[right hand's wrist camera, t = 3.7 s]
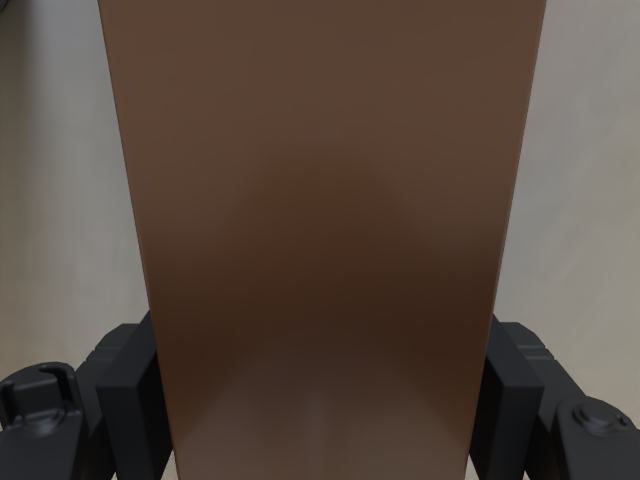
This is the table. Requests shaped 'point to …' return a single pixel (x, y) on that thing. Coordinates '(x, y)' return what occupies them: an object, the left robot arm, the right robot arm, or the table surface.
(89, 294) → the table surface
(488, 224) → the walnut block
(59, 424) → the right robot arm
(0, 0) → the grey cylinder white top
